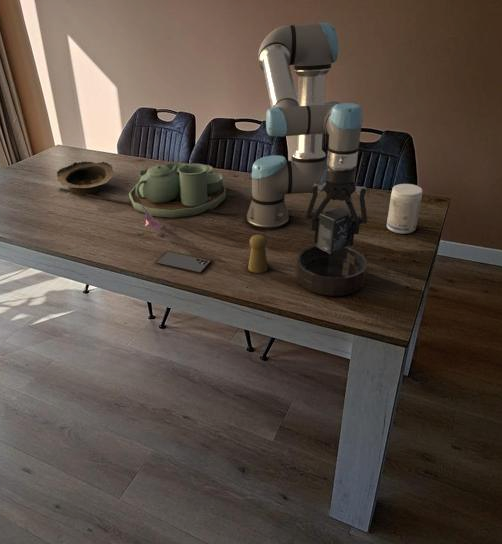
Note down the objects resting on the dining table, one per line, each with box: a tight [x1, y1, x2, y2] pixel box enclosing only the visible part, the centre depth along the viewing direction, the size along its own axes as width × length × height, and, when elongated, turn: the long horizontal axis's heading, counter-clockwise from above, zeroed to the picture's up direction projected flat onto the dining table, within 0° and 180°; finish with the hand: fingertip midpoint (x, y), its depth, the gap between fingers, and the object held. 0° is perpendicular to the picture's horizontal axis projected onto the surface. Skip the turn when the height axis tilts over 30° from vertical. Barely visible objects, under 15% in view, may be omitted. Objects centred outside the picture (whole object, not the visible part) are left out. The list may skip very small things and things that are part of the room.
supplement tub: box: [386, 183, 423, 235], centre depth 170 cm, size 10×10×15 cm
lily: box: [140, 206, 163, 236], centre depth 181 cm, size 12×12×10 cm
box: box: [316, 206, 354, 254], centre depth 141 cm, size 8×6×11 cm
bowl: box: [295, 244, 368, 297], centre depth 148 cm, size 20×20×6 cm
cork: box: [247, 234, 269, 274], centre depth 155 cm, size 6×6×11 cm
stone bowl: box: [56, 161, 115, 196], centre depth 221 cm, size 25×25×9 cm
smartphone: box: [156, 251, 211, 273], centre depth 163 cm, size 8×1×16 cm
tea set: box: [128, 162, 227, 218], centre depth 204 cm, size 40×40×16 cm
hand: (333, 241), depth 143 cm, fingers closed on box, 9 cm apart
